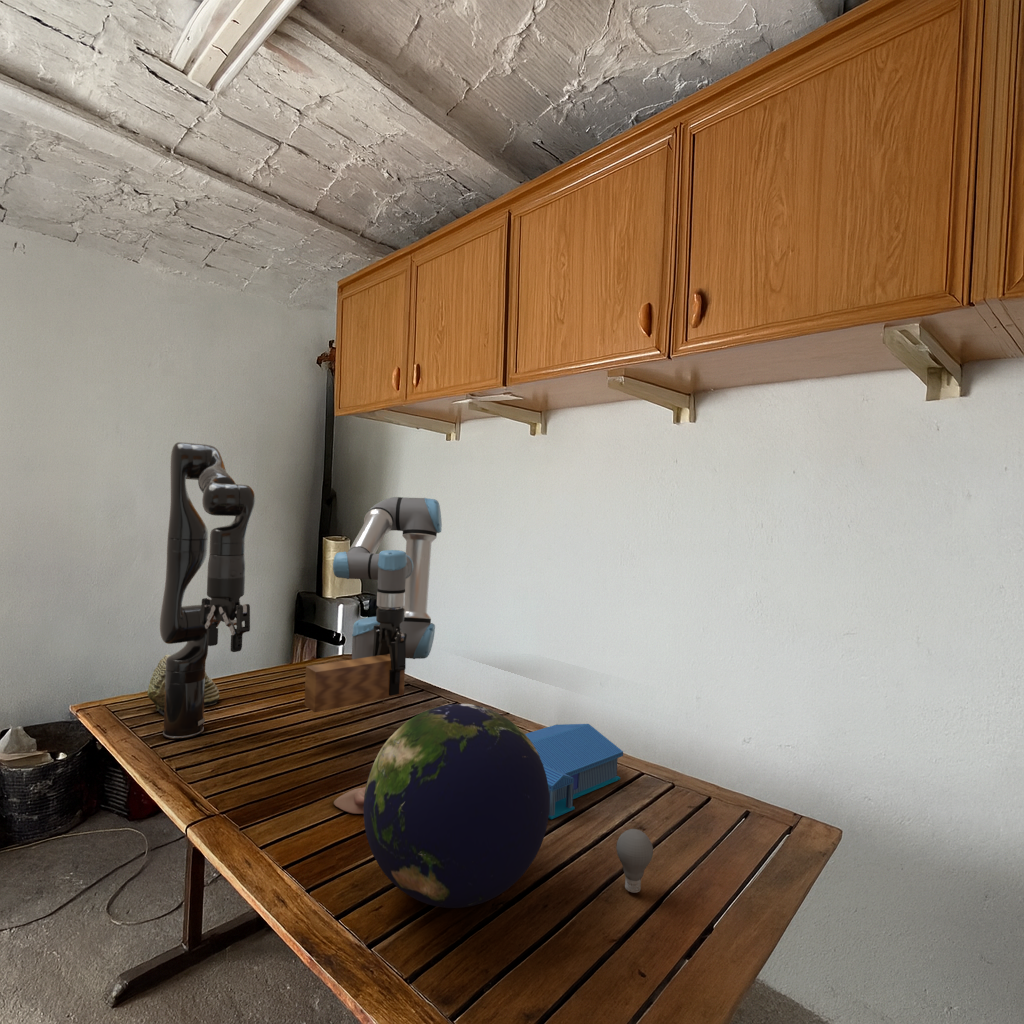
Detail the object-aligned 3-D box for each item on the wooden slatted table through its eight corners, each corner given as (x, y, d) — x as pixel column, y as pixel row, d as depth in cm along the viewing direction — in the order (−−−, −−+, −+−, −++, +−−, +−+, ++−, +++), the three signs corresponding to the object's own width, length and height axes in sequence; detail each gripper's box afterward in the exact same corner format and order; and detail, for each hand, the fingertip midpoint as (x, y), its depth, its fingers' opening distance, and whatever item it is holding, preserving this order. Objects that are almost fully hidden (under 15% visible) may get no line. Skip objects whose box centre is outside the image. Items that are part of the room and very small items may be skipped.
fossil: (144, 707, 182) (145, 655, 182) (212, 696, 194) (213, 647, 194) (151, 716, 175) (153, 662, 175) (221, 703, 188) (223, 653, 188)
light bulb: (610, 879, 108) (613, 822, 108) (644, 879, 109) (647, 822, 109) (619, 902, 102) (622, 840, 102) (655, 901, 103) (658, 840, 103)
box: (314, 712, 156) (315, 672, 156) (304, 705, 161) (305, 666, 161) (403, 694, 173) (405, 658, 173) (392, 688, 178) (393, 653, 177)
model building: (505, 839, 120) (507, 787, 120) (430, 791, 138) (432, 746, 138) (631, 784, 146) (633, 741, 146) (555, 749, 164) (556, 711, 164)
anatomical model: (326, 790, 128) (352, 767, 139) (326, 809, 128) (351, 785, 139) (388, 799, 125) (409, 775, 136) (387, 819, 125) (408, 793, 137)
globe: (319, 919, 95) (326, 721, 95) (420, 827, 123) (427, 673, 122) (502, 984, 84) (511, 760, 83) (568, 867, 112) (576, 698, 111)
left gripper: (262, 576, 138) (259, 650, 139) (222, 570, 146) (219, 640, 146) (231, 579, 132) (228, 657, 132) (191, 572, 139) (188, 646, 140)
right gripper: (421, 611, 168) (418, 698, 168) (385, 600, 182) (382, 680, 183) (396, 614, 163) (393, 703, 163) (361, 602, 177) (358, 684, 178)
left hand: (223, 648), depth 139 cm, fingers open, 8 cm apart
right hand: (387, 691), depth 173 cm, fingers closed on box, 6 cm apart
